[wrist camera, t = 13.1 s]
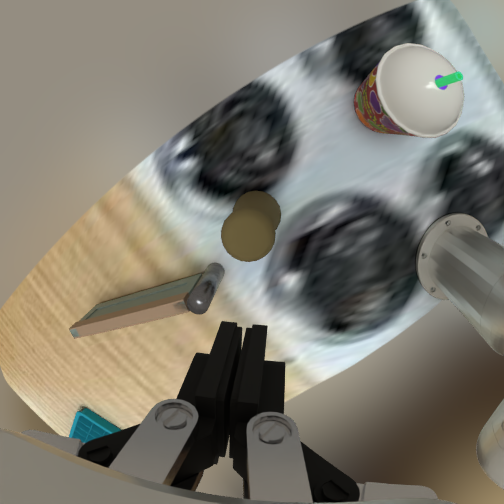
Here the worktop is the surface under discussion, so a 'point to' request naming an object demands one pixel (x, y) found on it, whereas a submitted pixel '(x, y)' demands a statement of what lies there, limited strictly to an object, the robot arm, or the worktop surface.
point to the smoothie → (411, 93)
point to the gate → (137, 308)
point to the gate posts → (205, 289)
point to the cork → (251, 226)
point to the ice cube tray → (90, 426)
